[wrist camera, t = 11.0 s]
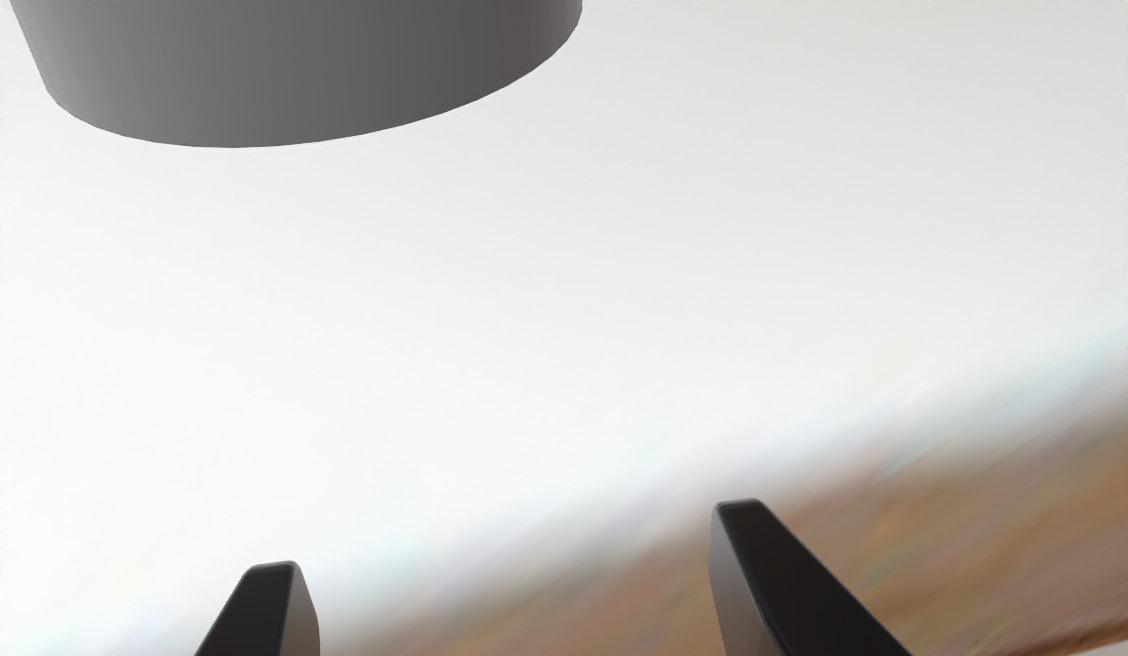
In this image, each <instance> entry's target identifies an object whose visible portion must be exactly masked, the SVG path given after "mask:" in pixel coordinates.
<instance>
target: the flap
mask: <svg viewBox="0 0 1128 656" xmlns="http://www.w3.org/2000/svg"><path fill="white" fill-rule="evenodd" d="M10 2H11V5H12V7H13V9H14V12H15V14H16V17H17V19H18V21H19V24H20V26H21V29H22V31H23V34H24V36H25V38H26V41H27V43H28V46H29V48H30V50H31V53H32V55H33V58H34V60H35V62H36V65H37V67H38V70H39V72H40V75H41V77H42V79H43V82H44V84H45V87H46V89H47V91H48V93H49V94H50V95H51V96H52V98H53V99H54V100H55V101H56V103H57V104H58V105H59V106H61V107H62V108H63V109H65V110H66V111H67V112H69V113H70V114H71V115H73V116H74V117H76V118H78V119H80V120H82V121H84V122H86V123H88V124H90V125H93V126H95V127H97V128H100V129H103V130H106V131H109V132H113V133H116V134H119V135H122V136H126V137H131V138H136V139H141V140H146V141H151V142H156V143H164V144H174V145H183V146H192V147H223V148H242V147H267V146H282V145H292V144H302V143H311V142H320V141H326V140H332V139H338V138H344V137H350V136H357V135H362V134H367V133H371V132H375V131H380V130H384V129H388V128H393V127H397V126H401V125H405V124H409V123H412V122H415V121H419V120H422V119H425V118H429V117H432V116H435V115H439V114H442V113H444V112H447V111H450V110H452V109H455V108H458V107H460V106H463V105H466V104H468V103H471V102H474V101H476V100H478V99H480V98H483V97H485V96H487V95H489V94H491V93H493V92H495V91H497V90H499V89H502V88H504V87H506V86H508V85H509V84H511V83H513V82H514V81H516V80H518V79H519V78H521V77H523V76H524V75H526V74H528V73H529V72H531V71H533V70H534V69H535V68H537V67H538V66H539V65H541V64H542V63H543V62H544V61H546V60H547V59H548V58H550V57H551V56H552V55H553V54H554V53H555V52H556V51H557V50H558V49H559V48H560V47H561V46H562V45H563V44H564V43H565V42H566V41H567V40H568V38H569V37H570V35H571V34H572V32H573V30H574V29H575V27H576V26H577V24H578V21H579V18H580V15H581V12H582V0H10Z"/></svg>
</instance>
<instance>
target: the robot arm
mask: <svg viewBox="0 0 1128 656" xmlns="http://www.w3.org/2000/svg"><path fill="white" fill-rule="evenodd" d="M708 567H709V576H710V582H711V587H712V592H713V596H714V601H715V605H716V610H717V614H718V619H719V623H720V628H721V633H722V637H723V642H724V646H725V651H726V655H727V656H914V655H913V654H912V653H911V652H910V651H909V650H908V649H907V648H906V647H905V646H904V645H903V644H902V643H901V642H900V641H899V640H898V639H897V638H896V637H895V636H894V635H893V634H892V633H891V632H890V630H889V629H888V628H887V627H886V626H885V625H884V624H883V623H882V622H881V621H880V620H879V619H878V618H877V617H876V616H875V615H874V614H873V613H872V612H871V611H870V610H869V609H868V608H867V607H866V606H865V605H864V604H863V603H862V602H861V601H860V600H859V599H858V598H857V597H856V596H855V595H854V594H853V593H852V592H851V591H850V590H849V589H848V588H847V587H846V586H845V585H844V584H843V583H842V582H841V581H840V580H839V579H838V578H837V577H836V576H835V575H834V574H833V573H832V572H831V571H830V570H829V569H828V568H827V567H826V565H825V564H824V563H823V562H822V561H821V560H820V559H819V558H818V557H817V556H816V555H815V554H814V553H813V552H812V551H811V550H810V549H809V548H808V547H807V546H806V545H805V544H804V543H803V542H802V541H801V540H800V539H799V538H798V537H797V536H796V535H795V534H794V533H793V532H792V531H791V530H790V529H789V528H788V527H787V526H786V525H785V524H784V523H783V522H782V521H781V520H780V519H779V518H778V517H777V516H776V515H775V514H774V513H773V512H772V511H771V510H770V509H769V508H768V507H767V506H766V505H765V504H764V503H763V502H762V501H760V500H758V499H756V498H745V499H738V500H730V501H723V502H719V503H717V504H716V505H715V506H714V508H713V510H712V515H711V528H710V541H709V554H708ZM194 656H320V637H319V626H318V620H317V615H316V612H315V609H314V606H313V603H312V600H311V597H310V594H309V591H308V588H307V585H306V582H305V580H304V577H303V574H302V571H301V568H300V567H299V565H298V564H297V563H296V562H294V561H281V562H274V563H266V564H259V565H255V566H252V567H251V568H249V569H248V570H247V571H246V572H245V573H244V575H243V576H242V578H241V579H240V581H239V583H238V584H237V586H236V588H235V589H234V591H233V593H232V594H231V596H230V597H229V599H228V601H227V602H226V604H225V606H224V607H223V609H222V611H221V612H220V614H219V615H218V617H217V619H216V620H215V622H214V624H213V625H212V627H211V629H210V630H209V632H208V633H207V635H206V637H205V638H204V640H203V642H202V643H201V645H200V647H199V648H198V650H197V651H196V653H195V655H194Z"/></svg>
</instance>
